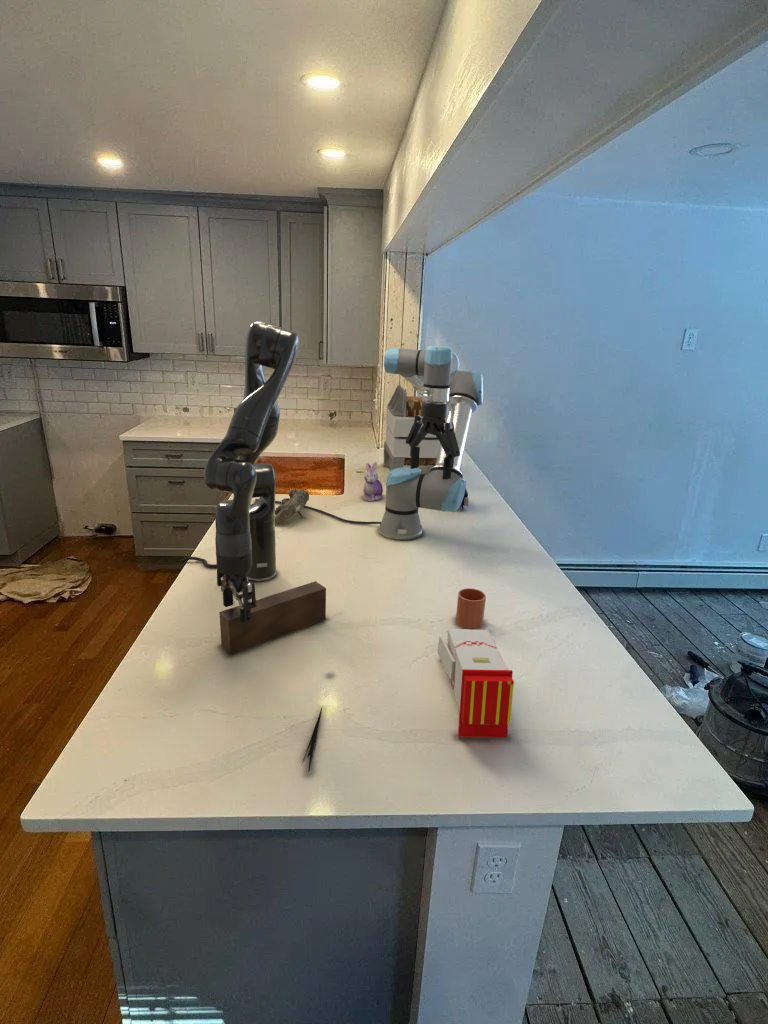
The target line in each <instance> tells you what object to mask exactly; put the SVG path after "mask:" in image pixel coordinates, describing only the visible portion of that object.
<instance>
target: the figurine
mask: <svg viewBox="0 0 768 1024" xmlns="http://www.w3.org/2000/svg"><path fill="white" fill-rule="evenodd" d="M365 464H366V465H365V466H366V467H365V470H366V471H365V474H364V475H363V476H364V480H365V483H364V485H363V495H362V498H363V500H364V501H368V502H373V501H378V500H381V499H382V498H383V493H384V487H383V483H382V482H381V481H380V480H379V475H378V473H377V468H378V462H377V461H375V462H374V463H373V464H372V465H370V463H369V462H366V463H365Z"/></svg>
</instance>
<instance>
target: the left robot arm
mask: <svg viewBox="0 0 768 1024" xmlns="http://www.w3.org/2000/svg"><path fill="white" fill-rule="evenodd" d="M299 337H300V336H299V335H298V332H295V331H294V330H291V329H288V328H285V327H282V326H278V325H275V324H272V323H270V322H269V323H268V322H266V321H260V320H256V321H253V322H252V323H251V324H250V327H249V328H248V331H247V335H246V341H245V351H244V352H245V354H244V355H245V356H244V357H245V358H244V361H245V362H244V366H245V367H244V368H245V369H244V371H245V372H244V389H243V390H244V392H243V400H241V401H240V403H239V404H238V405H237V407H236V408H235V410H234V412H233V414H232V417H231V420H230V423H229V426H228V428H227V431H226V434H225V435H224V437H223V438H222V440H221V441H220V442H219V444H218V446H217V447H216V448H215V450H214V451H213V452H212V453H211V455H210V456H209V458H208V460H207V461H206V463H205V465H204V469H203V480H204V483H205V485H206V486H207V487H208V488H209V489H211V490H213V491H218V492H223V493H230V494H233V498H232V499H226V500H222V501H220V502H218V503H217V504H216V505H215V509H214V521H215V539H214V541H215V542H214V543H215V557H216V558H215V559H216V564H212V563H208V560H206V559H204V558H201V557H198V556H186V557H183V558H182V559H181V560H180V561H179V563H182V564H183V563H185V562H186V561H187V562H188V561H198V562H200V563H203V565H204V567H206V568H211V569H215V568H216V584H217V587H220V591H221V593H222V605H223V607H224V608H228V607H231V606H233V605H234V599H235V600H236V601H237V602H238V606H240V621H241V623H243V624H244V623H247V622H249V621H250V620H251V608H255V607H256V600H257V596H256V595H257V594H256V584H255V582H265V581H269V580H272V579H274V578H275V577H276V576H277V554H276V553H277V551H276V524H275V516H276V515H275V510H276V503H275V501H276V488H277V487H276V484H277V483H276V482H277V481H276V479H277V477H276V472H275V469H274V467H273V465H272V464H271V463H270V462H260V463H255V461H256V460H257V459H258V458H259V456H261V454H262V453H263V452H265V451H266V449H267V448H268V447H269V446H271V444H272V443H273V441H274V440H275V438H276V437H277V434H278V431H279V424H280V417H281V410H280V406H279V404H278V401H277V400H278V398H279V397H280V395H281V393H282V391H283V388H284V386H285V385H286V382H287V380H288V378H289V376H290V374H291V372H292V369H293V367H294V364H295V362H296V360H297V356H298V353H299V346H300V339H299ZM264 367H265V368H269V369H273V372H272V373H271V375H270V376H269V378H268V379H267V380H266V377H265V373H264ZM254 498H255V499H258V500H257V501H254V502H252V501H253V500H252V499H254ZM249 581H250V582H249ZM240 593H241V594H240Z"/></svg>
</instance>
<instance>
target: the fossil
mask: <svg viewBox="0 0 768 1024" xmlns="http://www.w3.org/2000/svg"><path fill="white" fill-rule="evenodd" d="M288 496H289V497H287V498H286V497H285V498H282V499H281V503H282V504H280V505H278V506H277V507H275V525H278V526H279V525H282V524H284V523H287V522H288V521H289V520H291V519H292V518H294V516H296V515H297V514H298V515H299V516H300V517H301V518H302V517H303V515H302V513H301V512H300V511H301V510H302V508H304V506H307V503H308V502H309V500H310V494H309V492H308V490H305V488H300V489H299V490H298V489H296V488H295V489H290V490H289V492H288Z"/></svg>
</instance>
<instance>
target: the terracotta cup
mask: <svg viewBox="0 0 768 1024" xmlns="http://www.w3.org/2000/svg"><path fill="white" fill-rule="evenodd" d="M486 600H487V595H486V593H485V592H483V590H480V589H476V588H472V587H470V588H469V587H467V588H462V589H460V590H459V591H458V593H457V601H456V602H457V604H456V614H455V623H456V624H457V626H458V627H460V628H461V629H469V630H479V629H481V627H482V626H483V624H484V618H485V608H486Z"/></svg>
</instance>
